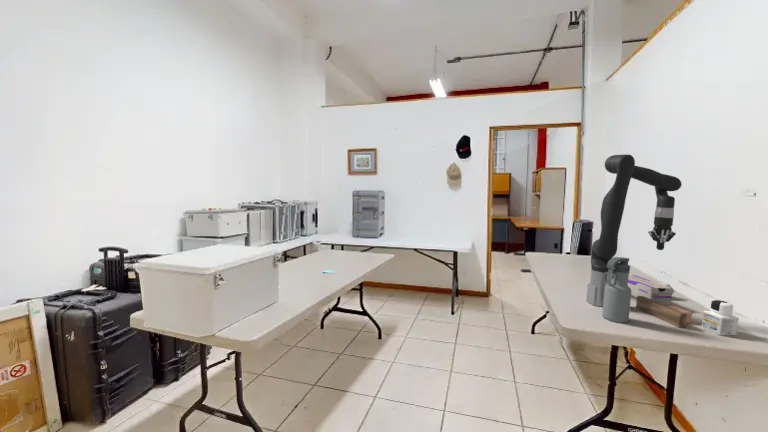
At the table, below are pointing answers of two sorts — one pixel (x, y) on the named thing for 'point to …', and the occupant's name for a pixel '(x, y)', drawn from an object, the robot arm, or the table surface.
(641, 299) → the stop board
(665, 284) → the die
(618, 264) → the water bottle
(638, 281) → the surgical sutures box
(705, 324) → the container
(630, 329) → the table surface
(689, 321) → the block
